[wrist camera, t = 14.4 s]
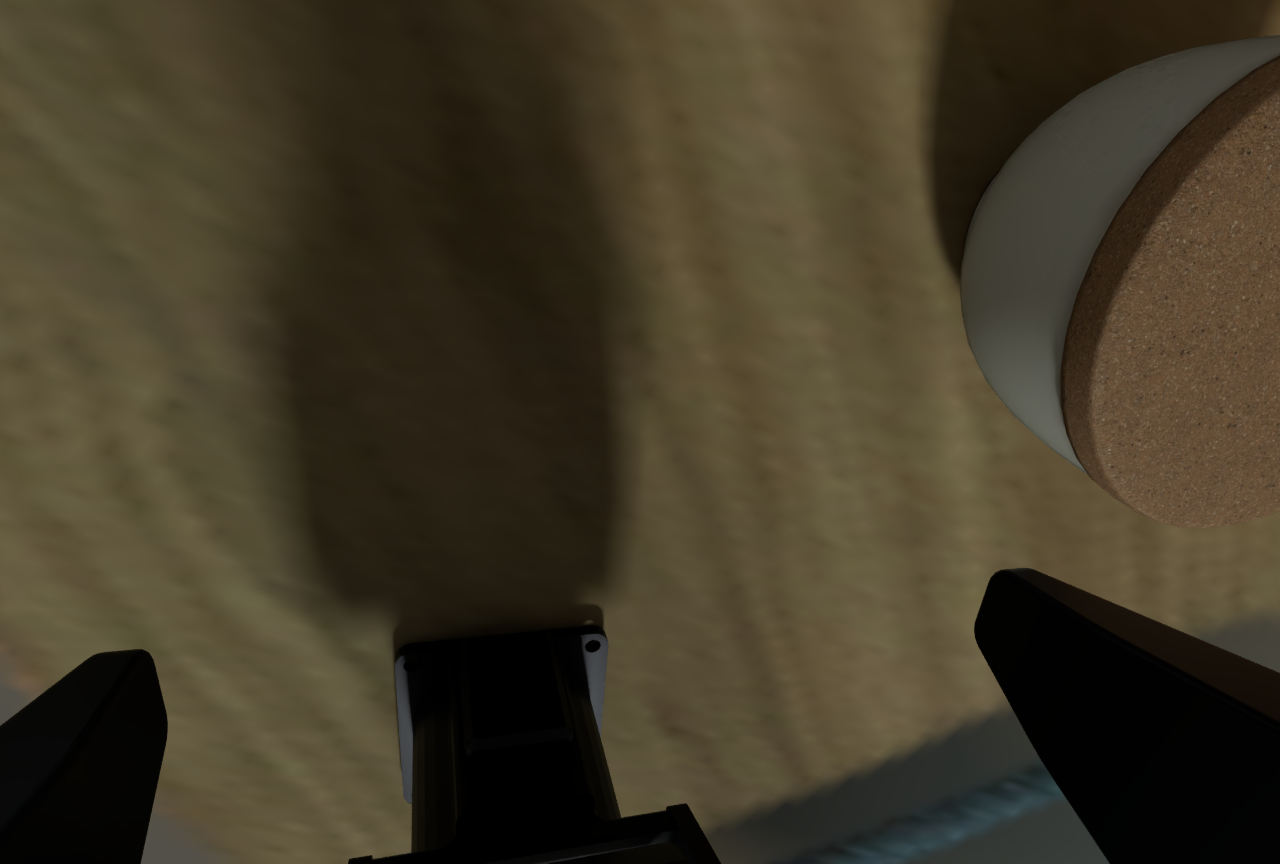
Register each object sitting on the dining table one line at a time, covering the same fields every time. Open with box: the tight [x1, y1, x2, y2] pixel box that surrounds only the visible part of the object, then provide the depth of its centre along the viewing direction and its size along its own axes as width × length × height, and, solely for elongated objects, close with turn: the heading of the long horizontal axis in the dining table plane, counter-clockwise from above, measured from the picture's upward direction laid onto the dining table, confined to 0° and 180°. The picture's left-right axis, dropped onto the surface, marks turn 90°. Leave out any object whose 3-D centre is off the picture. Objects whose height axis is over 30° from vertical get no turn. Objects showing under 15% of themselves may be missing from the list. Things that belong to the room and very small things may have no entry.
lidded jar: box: [960, 35, 1280, 528], centre depth 19 cm, size 11×11×9 cm
